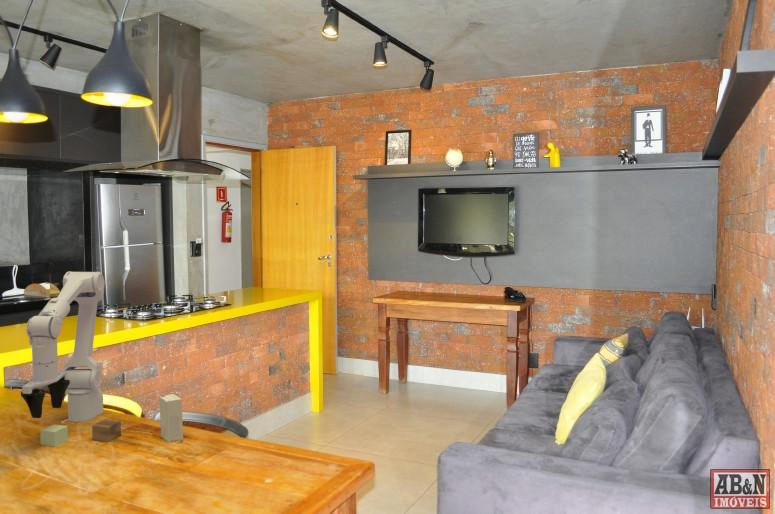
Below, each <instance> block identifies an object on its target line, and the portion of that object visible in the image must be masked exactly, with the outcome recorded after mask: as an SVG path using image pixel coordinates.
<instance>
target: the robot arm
mask: <svg viewBox="0 0 775 514" xmlns="http://www.w3.org/2000/svg"><path fill="white" fill-rule="evenodd" d="M105 282H106V281H105V278H104V275H103V273H102V272H100V271H71V270H70V271H67V272H66V273H65V274H64V275H63V279H62V286H63V287H62V288H61V290H60V292H58V293H59V294H58V296H57V297H53V298H51V299H50V300H48V302H47V303H46V305H45V306H44V307H43V309H41V311H40V312H39V314H38V315H33V316H32V317H30V318H29V319H28V321H27V324H26V328H25V330H26V331H25V332H26V335H27V337H28V341H29V345H30V346H31V353H32V354H31V355H32V356H31V357H32V358H31V360H32V377H30V378H29V381H28V382H27V383H26V384H24V385H22V386H21V388H22V391H20V397H21V398H23V400H24V402H25V403H26V404H27V407H28V409H29V412H30V414H31V418H32V419H40V418H42V415H43V404H44V403H43V402H44V399H45V396H46V394H47V392H46V391H40V390H41V389H42V388H44V387H46V386H47V388H48V391H49V395H50V403H51V407H52V408H53V409H61V408H62V404H63V400H64V397H65V395H66V394H67V417H68V418H66V419H63V420H61V421H60V424H62V423H65V422H67V421H69V422H75V423H78V422H81V423H82V422H86V421H89V420H93V419H94V418H96V417H97V416H99V415H101V414H103V413H104V395H103V391H102V390H101V389H100V388H99V387H100V386H101V384H102V365H101V364H100V362H98V361H97V360H96V359H94V358H93V350H94V338H95V330H96V321H97V320H96V319H97V312H98V311H97V310H98V303H99V302H101V301H102V300H103V299H104V293H105ZM74 301H75V302H77V304H78V312H77V321H76V328H75V337H74V339H75V340H74V348H73V355H72V358H70V359H69V360H67V362H65V363H64V364H63V367H62V370H59V365H58V364H59V363H58V359H59V356H58V354H59V353H58V337H59V336H60V335H61V332H62V327H63V324H64V320H65V318H66V317H67V316H68V314H70V310H71V305H70V304H72V302H74ZM39 389H40V390H39Z"/></svg>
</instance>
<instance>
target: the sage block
mask: <svg viewBox="0 0 775 514" xmlns="http://www.w3.org/2000/svg"><path fill="white" fill-rule="evenodd" d="M68 429H69V427H68V425H63V424H62V425H61V424H55V423H53V424H51V425H49V426H47V427H44V428H42V429H40V430H39V434H40V436H39V438H40V445H41V446H46V447H47V446H48V447H55V448H56V447H57V446H60V445H61V444H64V443H66V442H68V441H69V431H68Z"/></svg>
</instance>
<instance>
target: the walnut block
mask: <svg viewBox="0 0 775 514" xmlns="http://www.w3.org/2000/svg"><path fill="white" fill-rule="evenodd" d="M91 430H92V431H91V435H92V436H91V437H92V440H91V441H97V442H98V441H99V442H105V443H110V442H112V441H113V440H116V439H117V438H119V437H120V436H122V421H121V420H115V419H108V418H105V419H102V420H101V421H98V422H96V423H94V424H92V425H91Z"/></svg>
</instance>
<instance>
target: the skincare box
mask: <svg viewBox="0 0 775 514" xmlns="http://www.w3.org/2000/svg"><path fill="white" fill-rule="evenodd" d="M158 401H159V419H160V420H159V421H160V422H159V423H160V436H161V437H162V438H163V439H164V440H165V441H166V442H167V443H172V442H176V441H179V442H177V443H176V444H177V445H178V444H181V443H184V427H183V425H184V424H183V423H184V422H183V406H182V404H183V403H182V398H181V397H179V396H177V395H176V394H175V393H171V394H166V395H161V396H159V399H158Z"/></svg>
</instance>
